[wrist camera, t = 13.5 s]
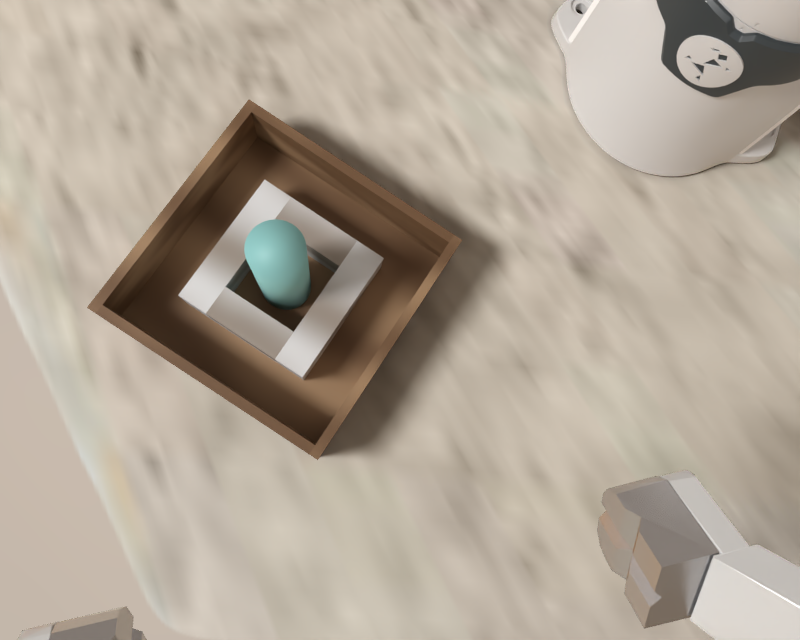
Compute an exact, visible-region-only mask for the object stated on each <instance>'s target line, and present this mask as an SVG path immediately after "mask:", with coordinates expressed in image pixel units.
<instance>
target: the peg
mask: <svg viewBox="0 0 800 640" xmlns="http://www.w3.org/2000/svg"><path fill="white" fill-rule="evenodd" d="M244 252H245V257H246V260H247V262H248V264H249V266H250V268H251V270H252V272H253V274H254V277H255V279H256V281H257V283H258V285H259V287H260V289H261V291H262V293H263V295H264V297H265V299H266V300H267V301H268V302H269V303H270V304H271V305H272V306H274V307H276V308H278V309H282V310H291V309H295V308H297V307H299V306H301V305H302V304H303V303H304V302H305V301H306V300H307V298H308V297H309V295H310V291H311V279H310V271H309V263H308V255H307V247H306V241H305V238H304V236H303V234H302V233H301V231H300V230H299V229H298V228H297V227H296V226H294V225H293V224H291V223H289V222H287V221H284V220H278V219H273V220H267V221H264V222H262V223H260V224H258V225H257V226H255V227H254V228H253V229H252V230H251V231H250V233H249V234H248V236H247V238H246V241H245V246H244Z"/></svg>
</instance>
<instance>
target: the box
mask: <svg viewBox="0 0 800 640" xmlns="http://www.w3.org/2000/svg"><path fill="white" fill-rule="evenodd" d="M273 219H278V220H284V221H287V222H289V223H291V224H293V225H294V226H296V227H297V228H298V229H299V230H300V231H301V233H302V234H303V236H304V238H305V241H306V247H307V255H308V263H309V271H310V279H311V291H310V295H309V297H308V298H307V300H306V301H305V302H304V303H303V304H302V305H301V306H299V307H297V308H295V309H291V310H282V309H278V308H276V307H274V306H272V305H271V304H270V303H269V302H268V301H267V300H266V299H265V297H264V295H263V293H262V291H261V289H260V287H259V285H258V283H257V281H256V279H255V277H254V274H253V272H252V270H251V268H250V266H249V264H248V262H247V260H246V257H245V252H244V246H245V241H246V238H247V236H248V234H249V233H250V231H251V230H252V229H253V228H254V227H255V226H257V225H258V224H260V223H262V222H264V221H267V220H273ZM461 241H462V240H461V239H460V238H458V237H457V236H455V235H454V234H452V233H451V232H449V231H448V230H446V229H445V228H443V227H442V226H440V225H439V224H437V223H435V222H434V221H432V220H431V219H429V218H428V217H426V216H425V215H423V214H422V213H420V212H419V211H417V210H416V209H414V208H413V207H411V206H410V205H408V204H407V203H405V202H404V201H402V200H401V199H399V198H398V197H396V196H395V195H393V194H392V193H390V192H389V191H387V190H385V189H384V188H382V187H381V186H379V185H378V184H376V183H375V182H373V181H372V180H370V179H369V178H367V177H366V176H364V175H363V174H361V173H360V172H358V171H357V170H355V169H354V168H352V167H351V166H349V165H348V164H346V163H345V162H343V161H342V160H340V159H338V158H337V157H335V156H334V155H332V154H331V153H329V152H328V151H326V150H325V149H323V148H322V147H320V146H319V145H317V144H316V143H314V142H313V141H311V140H310V139H308V138H307V137H305V136H304V135H302V134H301V133H299V132H298V131H296V130H295V129H293V128H291V127H290V126H288V125H287V124H285V123H284V122H282V121H281V120H279V119H278V118H276V117H275V116H273V115H272V114H270V113H269V112H267V111H266V110H264V109H263V108H261V107H260V106H258V105H257V104H255V103H254V102H252V101H251V100H248V101H247V103H246V104H245V105H244V106H243V108H242V109H241V110H240V112H239V113H238V114H237V115H236V117H235V118H234V119H233V121H232V122H231V123H230V124H229V126H228V127H227V128H226V130H225V131H224V132H223V133H222V135H221V136H220V137H219V139H218V140H217V141H216V142H215V144H214V145H213V146H212V148H211V149H210V150H209V151H208V153H207V154H206V155H205V157H204V158H203V159H202V160H201V162H200V163H199V164H198V166H197V167H196V168H195V169H194V171H193V172H192V173H191V175H190V176H189V177H188V178H187V180H186V181H185V182H184V184H183V185H182V186H181V187H180V189H179V190H178V191H177V193H176V194H175V195H174V196H173V198H172V199H171V200H170V202H169V203H168V204H167V205H166V207H165V208H164V209H163V211H162V212H161V213H160V214H159V216H158V217H157V218H156V220H155V221H154V222H153V223H152V225H151V226H150V227H149V229H148V230H147V231H146V232H145V234H144V235H143V236H142V238H141V239H140V240H139V241H138V243H137V244H136V245H135V247H134V248H133V249H132V250H131V252H130V253H129V254H128V256H127V257H126V258H125V259H124V261H123V262H122V263H121V265H120V266H119V267H118V268H117V270H116V271H115V272H114V274H113V275H112V276H111V277H110V279H109V280H108V281H107V283H106V284H105V285H104V286H103V288H102V289H101V290H100V292H99V293H98V294H97V295H96V297H95V298H94V299H93V301H92V302H91V303H90V304H89V306H88V307H87V308H88V309H90V310H92V311H93V312H95V313H96V314H98V315H99V316H101V317H102V318H104V319H105V320H107V321H108V322H110V323H111V324H113V325H114V326H116V327H117V328H119V329H120V330H122V331H123V332H125V333H126V334H128V335H129V336H131V337H132V338H134V339H135V340H137V341H138V342H140V343H141V344H143V345H145V346H146V347H148V348H149V349H151V350H152V351H154V352H155V353H157V354H158V355H160V356H161V357H163V358H164V359H166V360H167V361H169V362H170V363H172V364H173V365H175V366H176V367H178V368H179V369H181V370H182V371H184V372H185V373H187V374H188V375H190V376H191V377H193V378H195V379H196V380H198V381H199V382H201V383H202V384H204V385H205V386H207V387H208V388H210V389H211V390H213V391H214V392H216V393H217V394H219V395H220V396H222V397H223V398H225V399H226V400H228V401H229V402H231V403H232V404H234V405H235V406H237V407H238V408H240V409H241V410H243V411H244V412H246V413H248V414H249V415H251V416H252V417H254V418H255V419H257V420H258V421H260V422H261V423H263V424H264V425H266V426H267V427H269V428H270V429H272V430H273V431H275V432H276V433H278V434H279V435H281V436H282V437H284V438H285V439H287V440H288V441H290V442H291V443H293V444H294V445H296V446H297V447H299V448H301V449H302V450H304V451H305V452H307V453H308V454H310V455H311V456H313V457H314V458H316V459H317V460H318V459H319V457H320V456H321V454H322V453H323V451H324V450H325V448H326V447H327V445H328V444H329V442H330V441H331V439H332V438H333V436H334V435H335V433H336V432H337V430H338V428H339V427H340V425H341V424H342V422H343V421H344V419H345V418H346V416H347V415H348V413H349V412H350V410H351V409H352V407H353V406H354V404H355V403H356V401H357V400H358V398H359V396H360V395H361V393H362V392H363V390H364V389H365V387H366V386H367V384H368V383H369V381H370V380H371V378H372V377H373V375H374V374H375V372H376V371H377V369H378V368H379V366H380V364H381V363H382V361H383V360H384V358H385V357H386V355H387V354H388V352H389V351H390V349H391V348H392V346H393V345H394V343H395V342H396V340H397V339H398V337H399V336H400V334H401V333H402V331H403V329H404V328H405V326H406V325H407V323H408V322H409V320H410V319H411V317H412V316H413V314H414V313H415V311H416V310H417V308H418V307H419V305H420V304H421V302H422V301H423V299H424V297H425V296H426V294H427V293H428V291H429V290H430V288H431V287H432V285H433V284H434V282H435V281H436V279H437V278H438V276H439V275H440V273H441V272H442V270H443V269H444V267H445V266H446V264H447V262H448V261H449V259H450V258H451V256H452V255H453V253H454V252H455V250H456V249H457V247H458V246H459V244H460V243H461Z"/></svg>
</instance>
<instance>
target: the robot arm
mask: <svg viewBox="0 0 800 640" xmlns="http://www.w3.org/2000/svg"><path fill="white" fill-rule="evenodd" d="M576 10H580V11H581V12H582V13H583V14H579V13H578V12H577V11H576ZM551 26H552V30H553V33H554V35H555V38H556V40H557V42H558V44H559V46H560V48H561V50H562V52H563V54H564V57H565V62H566V76H567V87H568V92H569V96H570V100H571V103H572V106H573V109H574V111H575V113H576V115H577V117H578V119H579V121H580V123H581V124H582V126H583V128H584V129H585V130H586V132H587V133H588V134H589V136H590V137H591V138H592V139H593V140H594V141H595V142H596V144H597V145H598V146H600V147H601V148H602V149H603V150H604V151H605V152H606V153H608V154H609V155H610V156H612V157H613V158H615V159H616V160H618V161H619V162H621V163H623V164H625V165H627V166H629V167H631V168H633V169H636V170H639V171H642V172H645V173H649V174H653V175H660V176H684V175H690V174H694V173H698V172H701V171H704V170H706V169H708V168H711V167H713V166H716V165H719V164H722V163H726V162H731V163H755V162H759V161H761V160H763V159H764V158H765V157H766V156H767V155H769V154H770V153H771V152H772V150H773V148H774V146H775V143H776V139H777V136H778V133H779V129H780V126H781V123H782V122H783V121H785V120H786V119H787V118H788V117H790V116H791V115H792V114H793V113H795V112H796V111H797V110H798V109H800V0H566V1H565V2H564V3H563V4H562V5H561V6H560V7H559V9H558V10H557V11H556V12H555V14H554V15H553V17H552V20H551ZM602 504H603V506H604V507H605V509H606V511H605V512H604V513H603V514H602V515H601V516H600V517H599V520H598V528H597V532H598V537H599V543H600V547H601V549H602V552H603V554H604V557H605V559H606V561H607V563H608V564H609V566H610V568H611V570H612V571H614V572H615V573H617V574H618V575H620V576H621V577H623V578H625V579H626V584H625V592H624V594H625V595H626V597H627V599H628V601H629V603H630V604H631V606H632V608H633V610H634V612H635V613H636V615H637V617H638V619H639V620H640V622H641V624H642V626H643V628H648V627H652V626H656V625H660V624H664V623H669V622H673V621H677V620H681V619H685V618H689V617H691V618H690V620H691V621H692V622H693V623H695V624H696V625H697V626H698V627H700V628H701V629H702V630H704V631H705V632H706V633H708V634H709V635H710V636H711V637H713V638H714V639H715V640H800V567H799V566H797V565H795V564H793V563H791V562H790V561H788V560H786V559H784V558H782V557H780V556H779V555H777V554H775V553H773V552H771V551H769V550H768V549H766V548H764V547H762V546H760V545H758V544H756V545H751V546H750V545H749V544H748V543H747V541H746V540H745V539H744V538H743V536H742V535H741V534H740V533H739V531H738V530H737V529H736V527H735V526H734V525H733V524H732V522H731V521H730V520H729V518H728V517H727V516H726V515H725V513H724V512H723V511H722V509H721V508H720V507H719V506H718V504H717V503H716V502H715V501H714V499H713V498H712V497H711V495H710V494H709V493H708V492H707V490H706V489H705V488H704V486H703V485H702V484H701V483H700V481H699V480H698V479H697V477H696V476H695V475H694V474H693V473H691V472H690V471H688V470H681V471H677V472H673V473H669V474H665V475H662V476H654V477H651V478H647V479H643V480H639V481H635V482H632V483H628V484H624V485H620V486H616V487H612V488H609V489H607V490H606V491H605V492H604V493H603V497H602ZM132 627H133V616H132V614H131V613H130V611H129V610H128V608H127V607H126V606H125V607H121V608H116V609H112V610H108V611H104V612H99V613H95V614H91V615H87V616H82V617H78V618H74V619H70V620H65V621H61V622H55V623H50V624H47V625H42V626H38V627H35V628H30V629H27V630H22V632H21V634H20V635H19V637H18V639H17V640H147V639H146V638H145V636H144V634H143V632H142V631H139V630H136V629H133V628H132Z"/></svg>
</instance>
